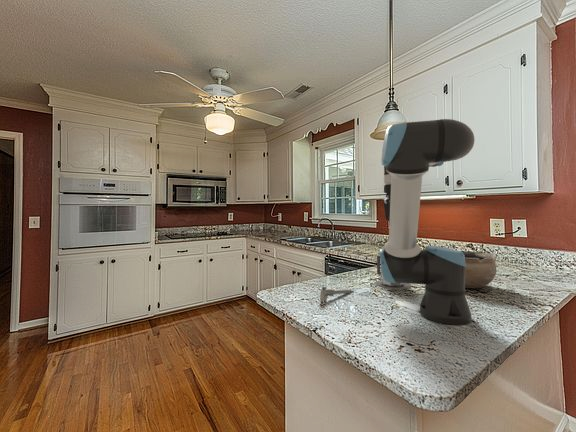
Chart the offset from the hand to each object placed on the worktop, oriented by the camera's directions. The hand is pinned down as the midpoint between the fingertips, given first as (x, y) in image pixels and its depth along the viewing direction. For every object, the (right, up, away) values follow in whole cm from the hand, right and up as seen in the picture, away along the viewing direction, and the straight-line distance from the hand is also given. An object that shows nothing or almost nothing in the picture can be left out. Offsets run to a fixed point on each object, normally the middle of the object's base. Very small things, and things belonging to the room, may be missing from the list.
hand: (392, 235), depth 125 cm
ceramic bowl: (+34, -24, 0) cm, 42 cm away
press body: (-1, -23, +2) cm, 23 cm away
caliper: (-28, -25, -13) cm, 40 cm away
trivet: (0, -24, +1) cm, 24 cm away
